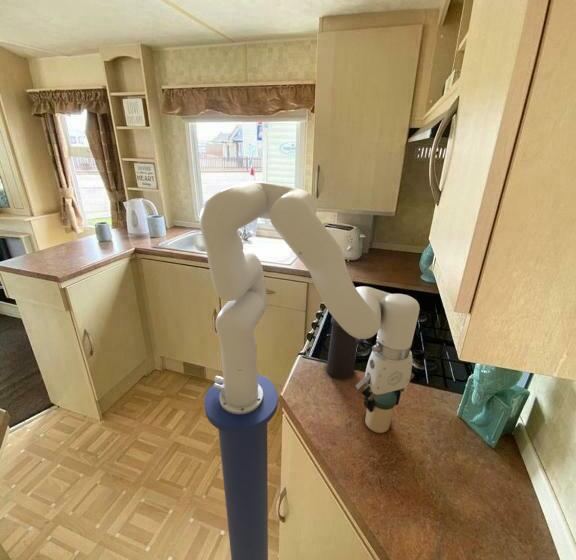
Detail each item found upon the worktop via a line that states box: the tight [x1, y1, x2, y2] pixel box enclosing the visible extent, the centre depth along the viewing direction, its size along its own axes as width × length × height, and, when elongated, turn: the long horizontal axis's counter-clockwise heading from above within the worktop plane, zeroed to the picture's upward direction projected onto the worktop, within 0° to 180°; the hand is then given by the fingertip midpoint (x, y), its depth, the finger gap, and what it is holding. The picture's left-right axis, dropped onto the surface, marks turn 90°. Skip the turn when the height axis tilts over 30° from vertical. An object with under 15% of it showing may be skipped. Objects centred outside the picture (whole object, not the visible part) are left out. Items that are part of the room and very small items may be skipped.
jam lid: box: [369, 389, 397, 410], centre depth 78 cm, size 7×7×2 cm
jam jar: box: [364, 406, 395, 434], centre depth 80 cm, size 6×6×9 cm
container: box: [326, 315, 359, 380], centre depth 95 cm, size 9×9×20 cm
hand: (380, 403), depth 79 cm, fingers closed on jam lid, 6 cm apart
